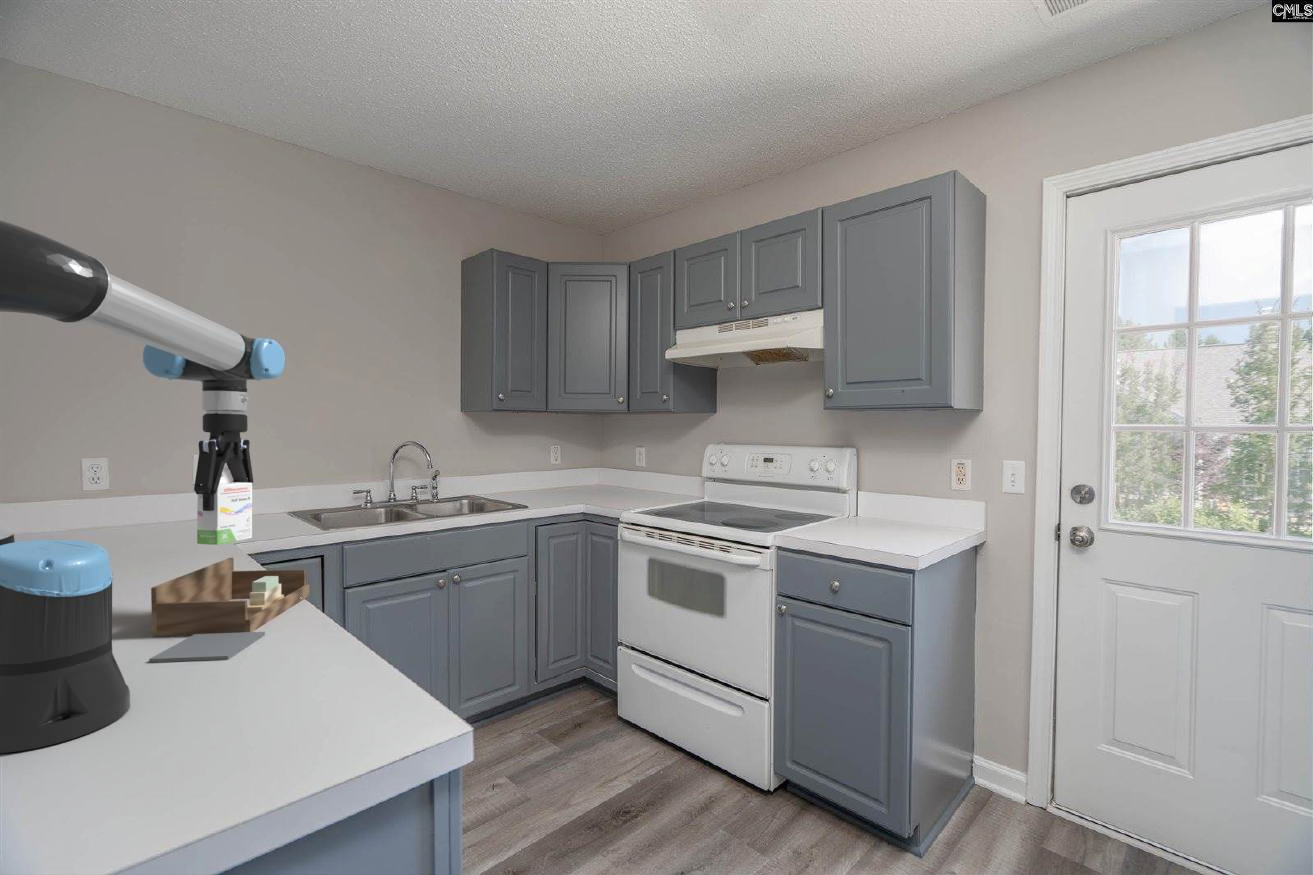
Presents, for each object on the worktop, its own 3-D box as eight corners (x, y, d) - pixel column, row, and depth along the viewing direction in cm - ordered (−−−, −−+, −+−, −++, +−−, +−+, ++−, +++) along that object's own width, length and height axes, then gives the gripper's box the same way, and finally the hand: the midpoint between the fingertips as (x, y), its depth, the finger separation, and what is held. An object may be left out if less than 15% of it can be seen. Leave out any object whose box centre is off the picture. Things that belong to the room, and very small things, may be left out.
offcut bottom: (262, 622, 123) (261, 607, 123) (246, 622, 123) (245, 607, 123) (284, 608, 132) (284, 594, 132) (269, 609, 132) (269, 595, 132)
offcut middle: (264, 605, 125) (264, 592, 125) (249, 605, 124) (249, 593, 124) (281, 595, 132) (281, 583, 132) (267, 595, 131) (267, 584, 131)
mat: (228, 659, 103) (228, 655, 103) (149, 662, 101) (149, 659, 101) (264, 634, 115) (264, 631, 115) (194, 637, 113) (194, 634, 113)
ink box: (217, 545, 122) (216, 470, 121) (196, 544, 123) (195, 469, 122) (254, 538, 130) (253, 467, 130) (234, 537, 131) (233, 467, 131)
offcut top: (265, 591, 125) (265, 582, 125) (252, 592, 125) (252, 582, 125) (278, 585, 130) (278, 576, 130) (265, 585, 130) (265, 576, 130)
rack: (250, 633, 116) (249, 585, 116) (152, 636, 114) (151, 587, 114) (309, 595, 141) (309, 556, 141) (230, 597, 139) (229, 557, 139)
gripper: (213, 411, 116) (213, 531, 116) (271, 414, 137) (272, 515, 138) (169, 411, 115) (170, 532, 115) (235, 414, 137) (236, 516, 137)
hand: (225, 523), depth 126 cm, fingers closed on ink box, 9 cm apart
